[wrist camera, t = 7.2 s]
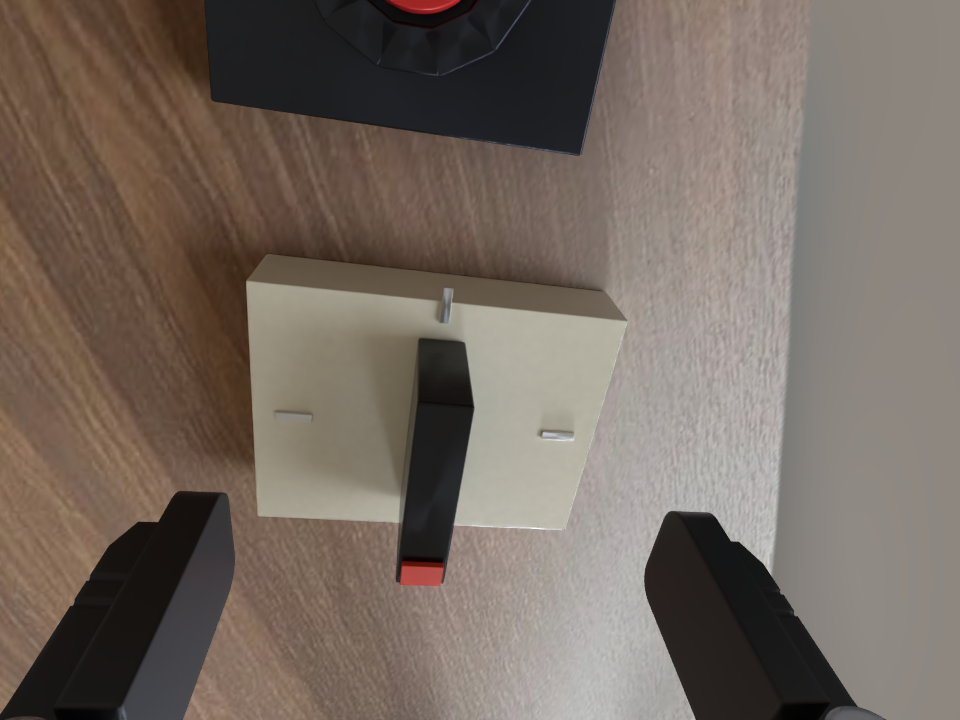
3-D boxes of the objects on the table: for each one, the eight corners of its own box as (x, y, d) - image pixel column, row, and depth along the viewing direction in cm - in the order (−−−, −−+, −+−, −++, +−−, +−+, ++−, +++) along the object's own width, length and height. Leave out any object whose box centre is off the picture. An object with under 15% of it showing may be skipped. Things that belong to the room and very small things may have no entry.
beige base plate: (609, 278, 24) (634, 308, 21) (550, 496, 29) (563, 542, 27) (266, 238, 22) (243, 265, 19) (273, 481, 27) (256, 529, 25)
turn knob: (418, 336, 21) (416, 407, 17) (465, 341, 21) (476, 411, 17) (400, 498, 25) (395, 589, 20) (440, 500, 25) (443, 590, 21)
